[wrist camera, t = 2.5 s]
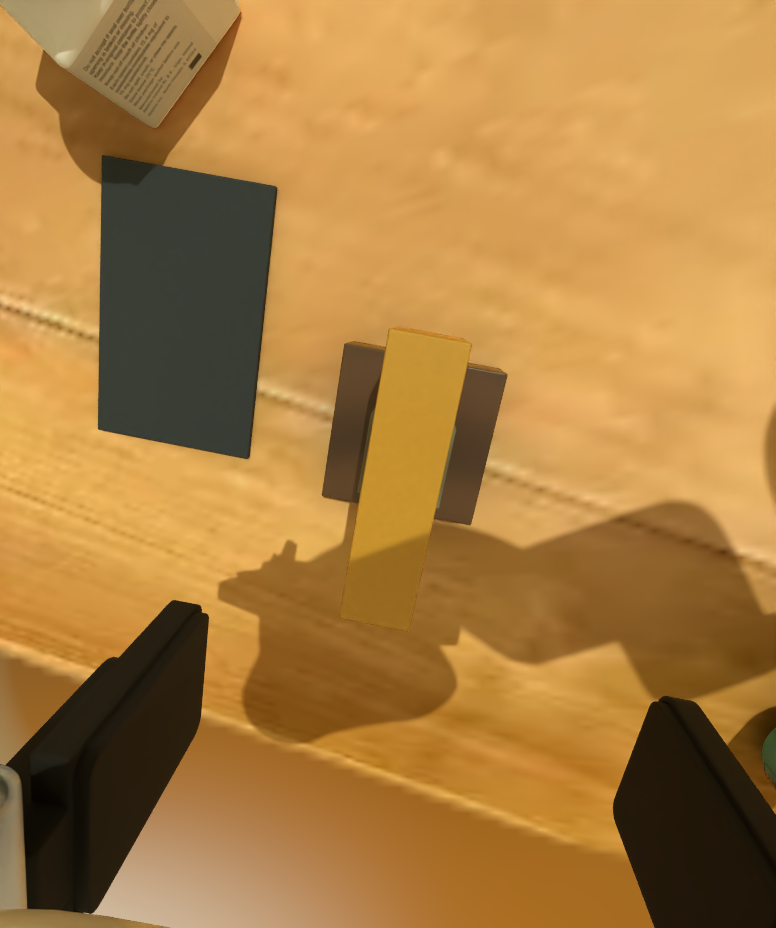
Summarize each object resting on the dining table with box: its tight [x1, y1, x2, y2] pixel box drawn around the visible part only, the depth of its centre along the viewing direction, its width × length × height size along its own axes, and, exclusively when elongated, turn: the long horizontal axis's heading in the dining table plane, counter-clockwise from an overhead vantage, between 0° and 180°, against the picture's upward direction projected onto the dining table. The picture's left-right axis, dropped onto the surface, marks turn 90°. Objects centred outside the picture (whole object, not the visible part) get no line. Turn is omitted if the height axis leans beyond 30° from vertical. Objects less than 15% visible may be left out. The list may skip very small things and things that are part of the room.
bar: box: [339, 327, 472, 632], centre depth 22 cm, size 12×3×4 cm, turn 170°
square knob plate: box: [322, 341, 507, 525], centre depth 28 cm, size 9×9×8 cm
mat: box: [98, 155, 277, 459], centre depth 31 cm, size 16×10×1 cm, turn 170°
